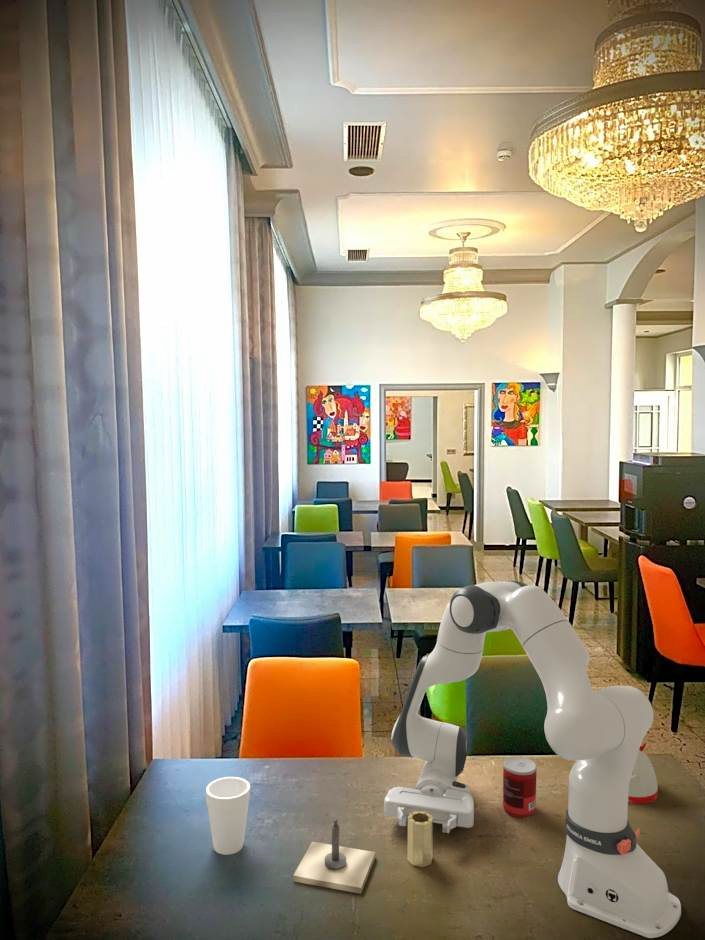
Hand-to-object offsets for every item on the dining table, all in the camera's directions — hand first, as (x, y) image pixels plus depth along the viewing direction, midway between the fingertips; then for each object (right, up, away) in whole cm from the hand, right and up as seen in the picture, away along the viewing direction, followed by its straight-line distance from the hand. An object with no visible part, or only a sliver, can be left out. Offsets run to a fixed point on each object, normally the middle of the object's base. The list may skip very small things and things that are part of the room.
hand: (423, 826), depth 151 cm
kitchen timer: (+54, -4, +26) cm, 60 cm away
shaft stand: (-19, -5, -7) cm, 21 cm away
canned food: (+24, -4, +16) cm, 30 cm away
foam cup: (-42, -5, +1) cm, 42 cm away
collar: (-1, -5, -4) cm, 6 cm away
